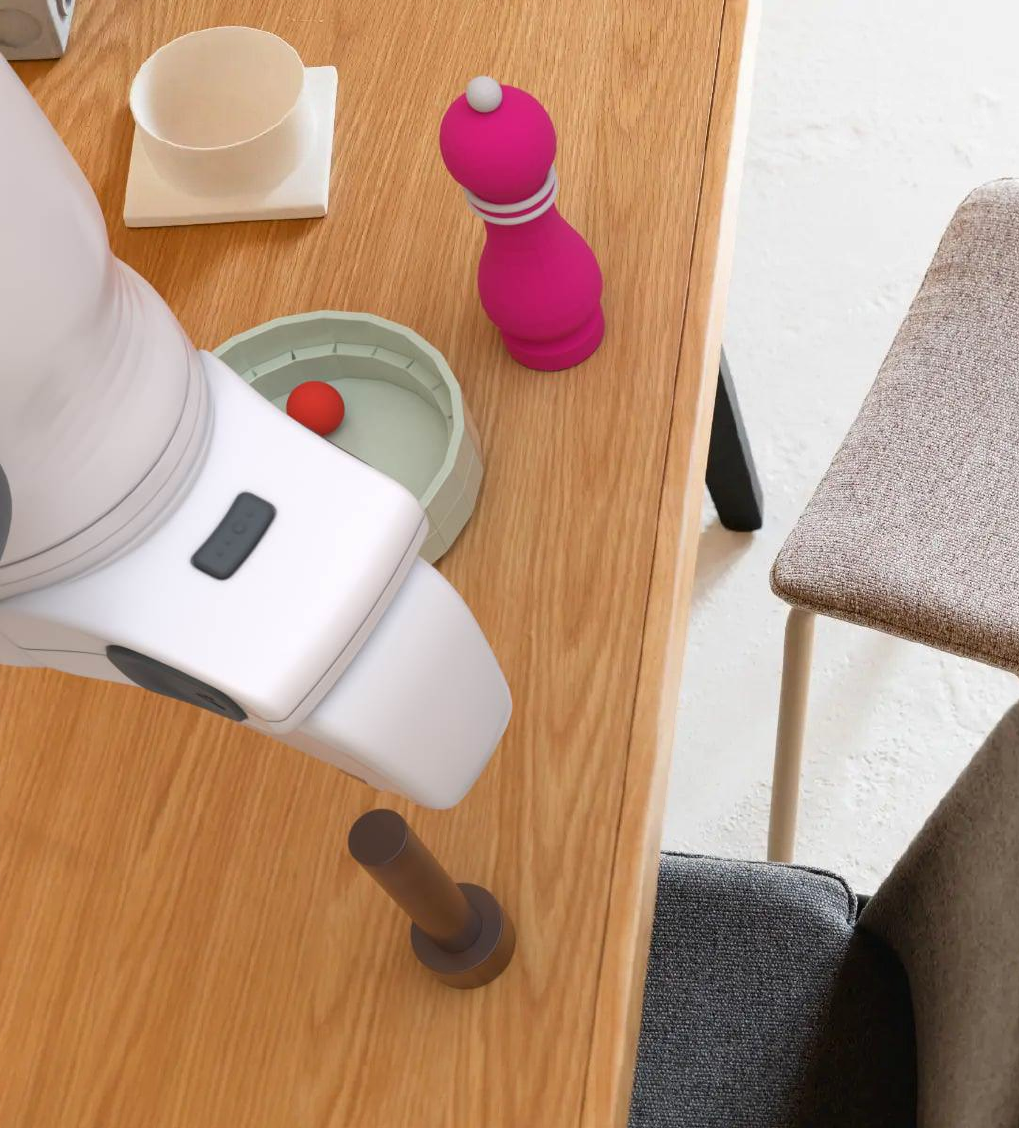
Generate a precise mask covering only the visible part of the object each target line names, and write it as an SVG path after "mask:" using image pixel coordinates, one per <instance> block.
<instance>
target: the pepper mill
mask: <svg viewBox="0 0 1019 1128" xmlns="http://www.w3.org/2000/svg"><path fill="white" fill-rule="evenodd" d="M438 136H439V137H438V140H439V141H438V142H439V149H440V150H439V151H440V154H441V157H442V161H443V163H444V165H445V168H446V169H447V171H448V173H449V174H450V175H451V177H452V178H453V179H454V180H455V181H456V183H458V185H461V187H462V191H463V193H464V195H465V200H466V203H467V205H468V207H469V209H470V210H471V211H472V212H473V213H474V214H475V215H476V216H477V217H478V218H480V219H481V220H482V221H483V224H484V227H485V228H484V229H485V232H486V240H485V242H484V246H483V249H482V251H481V255H480V258H479V263H478V269H477V289H478V295H479V299H480V303H481V306H482V309H483V311H484V312H485V314H486V316H487V317H488V319H489V321H490V322H492V323H493V324H494V326H496V327H497V328H498V329H499V332H500V333H499V334H500V336H501V338H502V341H503V344H504V346H505V349H506V350H507V352H508V353H509V355H510V356H511V357H512V358H513V359H514V360H515V361H517V362H518V363H519V364H521V365H523V366H525V367H527V368H530V369H533V370H538V371H545V372H546V371H548V372H549V371H551V372H554V371H555V372H556V371H559V370H564V369H569V368H571V367H574V366H576V365H578V364H580V363H582V362H584V361H585V360H587V358H589V357H590V356H591V355H593V353H595V351H596V350H597V348H598V347H599V346H600V344H601V342H602V340H603V337H604V333H605V327H606V326H605V325H606V324H605V323H606V321H605V317H604V313H603V308H602V305H601V299H602V293H603V288H604V281H603V274H602V271H601V268H600V265H599V263H598V260H597V257H596V255H595V253H594V251H593V249H592V248H591V247H590V246H589V244H588V242H587V241H586V240H585V239H584V237H583V236H582V235H581V234H580V233H579V232H578V230H576V229H575V228H574V226H573V227H572V225H571V224H570V223H568V221H567V220H565V218H564V217H562V215H561V214H560V213H559V211H558V209H557V206H556V203H555V200H556V198H557V196H558V194H559V178H558V175H557V173H556V167H555V164H554V161H555V159H556V155H557V143H558V141H557V135H556V130H555V127H554V123H553V121H552V119H551V116H550V115H549V113H548V111H547V110H546V108H545V107H544V106H543V104H542V103H540V101H538V99H537V98H536V97H534V96H533V95H532V94H531V93H529V92H527V91H525V90H523V89H521V88H518V87H515V86H512V85H508V84H502V83H501V84H500V83H499V82H498V81H496V80H495V79H494V78H492V77H490V76H487V75H479V76H478V75H477V76H475V77H473V78H472V79H471V80H470V81H469V82H468V84H467V85H466V89H465V92H463V93H462V94H461V95H459V96H457V98H456V99H455V100H453V101H452V102H451V104H450V105H449V107H448V108H447V109H446V112H445V113H444V115H443V117H442V119H441V123H440V127H439V135H438Z"/></svg>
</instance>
